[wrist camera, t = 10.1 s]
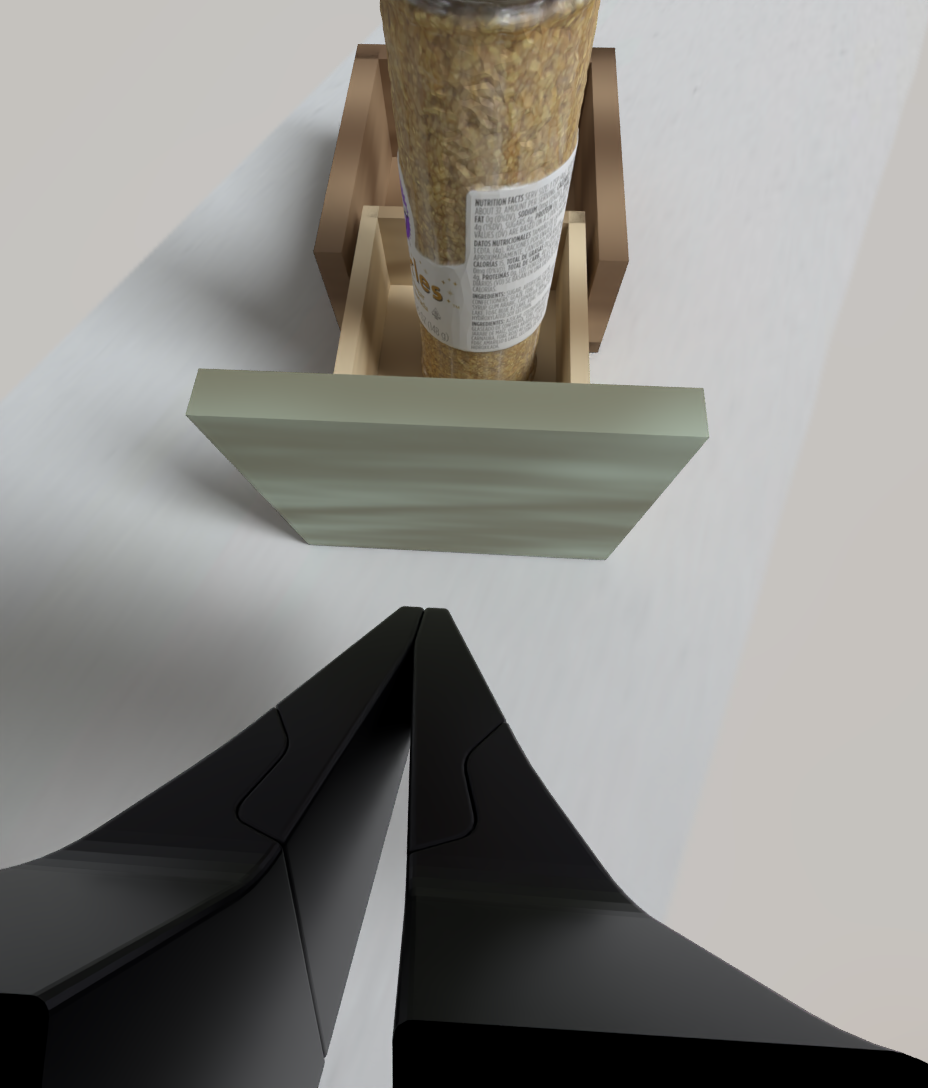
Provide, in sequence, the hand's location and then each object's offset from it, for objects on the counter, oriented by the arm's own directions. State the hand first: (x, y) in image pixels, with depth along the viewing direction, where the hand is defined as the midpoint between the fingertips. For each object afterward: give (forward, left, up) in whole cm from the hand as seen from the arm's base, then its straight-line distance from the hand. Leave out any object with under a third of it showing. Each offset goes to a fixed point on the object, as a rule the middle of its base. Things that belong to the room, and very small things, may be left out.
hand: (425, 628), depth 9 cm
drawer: (+10, -3, -8) cm, 13 cm away
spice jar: (+11, -4, -7) cm, 14 cm away
